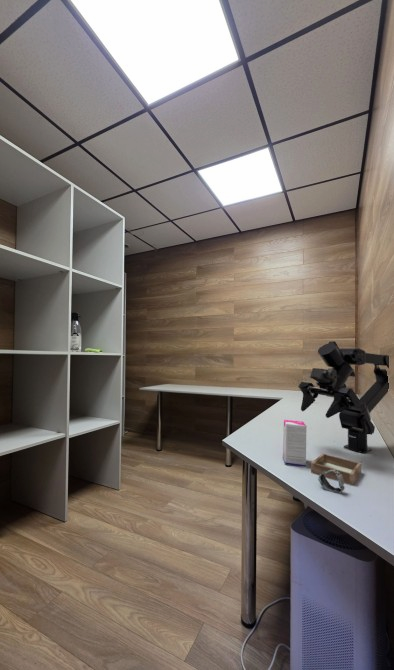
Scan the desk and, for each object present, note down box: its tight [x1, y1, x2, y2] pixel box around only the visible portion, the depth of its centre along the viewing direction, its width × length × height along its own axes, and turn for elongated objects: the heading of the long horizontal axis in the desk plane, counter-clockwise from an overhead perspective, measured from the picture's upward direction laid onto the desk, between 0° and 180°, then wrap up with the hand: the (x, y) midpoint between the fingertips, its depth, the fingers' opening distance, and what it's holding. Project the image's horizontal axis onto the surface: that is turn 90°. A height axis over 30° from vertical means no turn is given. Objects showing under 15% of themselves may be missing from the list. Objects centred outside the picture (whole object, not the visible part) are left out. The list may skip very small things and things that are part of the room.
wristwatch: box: [317, 469, 346, 494], centre depth 63 cm, size 3×5×5 cm
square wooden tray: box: [310, 453, 362, 486], centre depth 72 cm, size 10×10×2 cm
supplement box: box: [282, 419, 308, 468], centre depth 79 cm, size 6×6×12 cm
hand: (313, 413), depth 83 cm, fingers open, 9 cm apart
